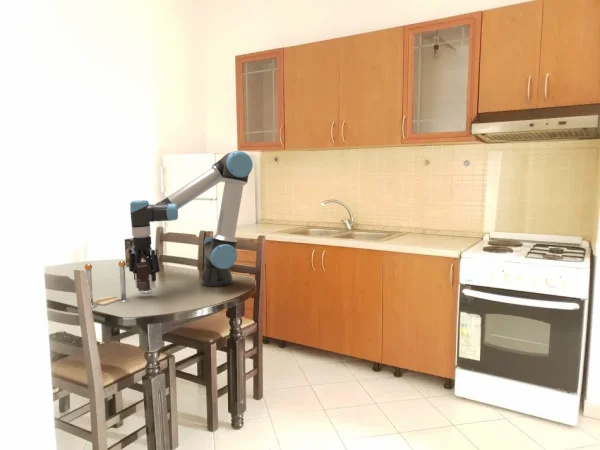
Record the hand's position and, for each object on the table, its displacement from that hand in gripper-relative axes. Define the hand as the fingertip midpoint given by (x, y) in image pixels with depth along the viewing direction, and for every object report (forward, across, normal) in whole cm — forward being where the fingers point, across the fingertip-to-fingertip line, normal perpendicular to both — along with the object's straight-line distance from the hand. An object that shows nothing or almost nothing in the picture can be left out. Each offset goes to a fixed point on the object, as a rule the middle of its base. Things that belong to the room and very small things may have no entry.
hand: (145, 287), depth 191 cm
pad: (+4, +12, +12) cm, 17 cm away
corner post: (+4, +6, +8) cm, 10 cm away
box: (+1, 0, 0) cm, 1 cm away
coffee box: (+4, +52, -51) cm, 73 cm away
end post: (+3, +12, +20) cm, 23 cm away
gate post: (+4, +6, -6) cm, 9 cm away
